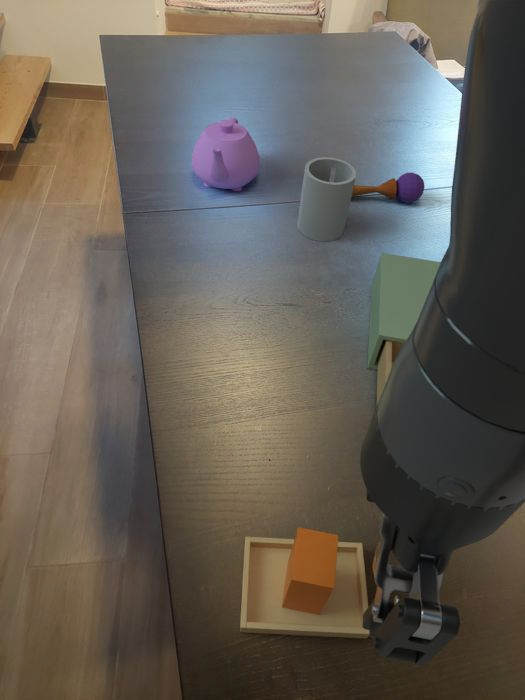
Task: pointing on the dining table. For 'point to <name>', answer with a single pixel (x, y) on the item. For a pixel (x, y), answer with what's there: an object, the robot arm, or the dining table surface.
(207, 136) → the teapot
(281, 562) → the tray
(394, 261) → the cabinet
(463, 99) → the robot arm
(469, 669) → the dining table surface
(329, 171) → the cup
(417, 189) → the kendama
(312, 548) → the block
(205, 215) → the dining table surface
